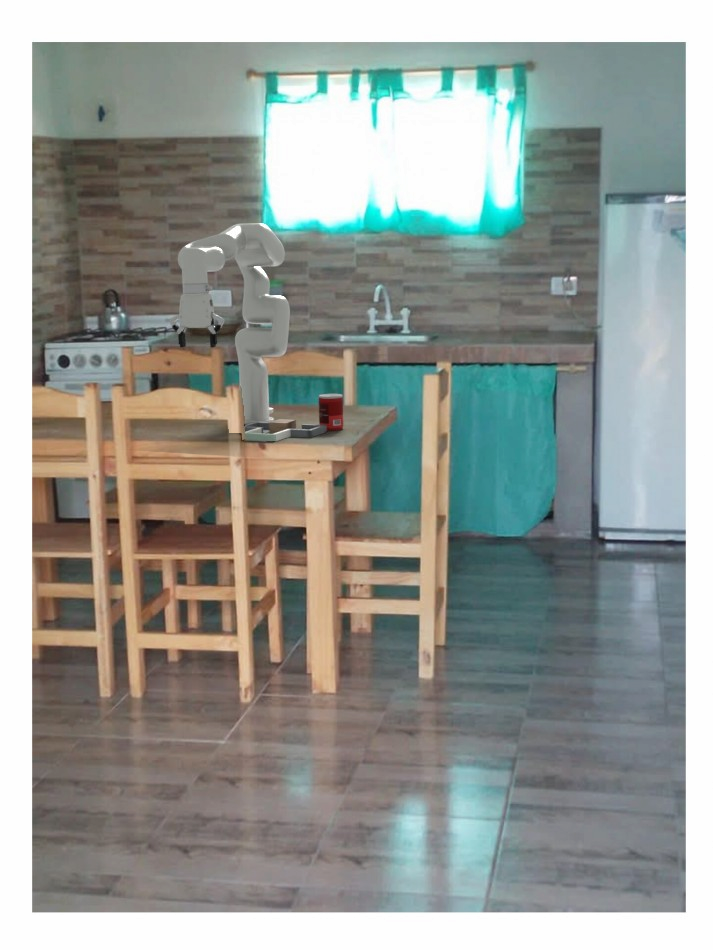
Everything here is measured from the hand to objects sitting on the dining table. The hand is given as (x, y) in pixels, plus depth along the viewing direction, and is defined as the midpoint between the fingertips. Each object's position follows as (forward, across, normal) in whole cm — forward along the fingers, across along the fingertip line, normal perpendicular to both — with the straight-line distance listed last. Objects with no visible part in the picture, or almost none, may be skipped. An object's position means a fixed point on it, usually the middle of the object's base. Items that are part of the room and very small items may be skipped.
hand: (198, 346), depth 377 cm
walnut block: (+29, -20, -18) cm, 40 cm away
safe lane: (+29, -18, -8) cm, 35 cm away
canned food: (+29, -34, -27) cm, 53 cm away
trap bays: (+29, -20, -18) cm, 40 cm away
